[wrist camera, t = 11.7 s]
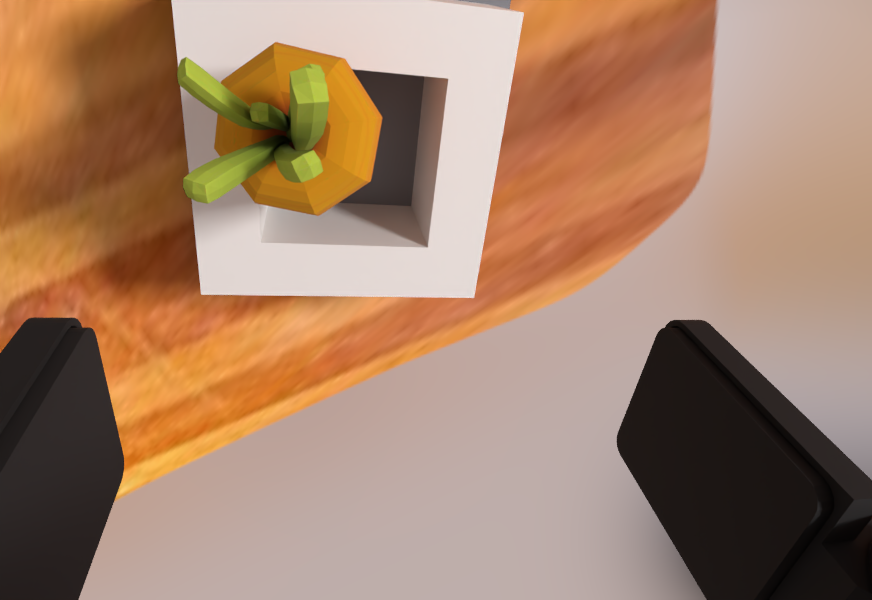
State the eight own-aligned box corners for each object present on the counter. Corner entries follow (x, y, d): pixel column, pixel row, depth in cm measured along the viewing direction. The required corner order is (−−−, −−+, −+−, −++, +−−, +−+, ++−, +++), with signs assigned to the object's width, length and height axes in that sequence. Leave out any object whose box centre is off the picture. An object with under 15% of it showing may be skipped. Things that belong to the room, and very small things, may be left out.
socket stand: (169, -97, 22) (123, -116, 17) (510, -45, 25) (562, -48, 20) (204, 269, 30) (180, 334, 24) (459, 274, 33) (487, 333, 28)
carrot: (296, 193, 27) (179, 270, 12) (268, 84, 25) (99, 28, 11) (398, 174, 27) (399, 228, 12) (376, 63, 25) (349, -19, 11)
